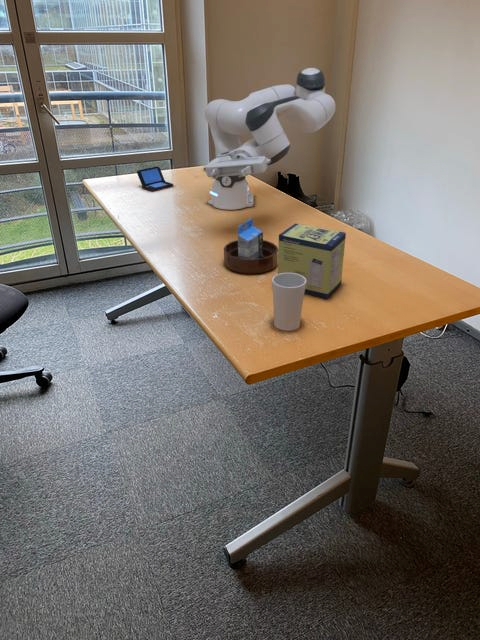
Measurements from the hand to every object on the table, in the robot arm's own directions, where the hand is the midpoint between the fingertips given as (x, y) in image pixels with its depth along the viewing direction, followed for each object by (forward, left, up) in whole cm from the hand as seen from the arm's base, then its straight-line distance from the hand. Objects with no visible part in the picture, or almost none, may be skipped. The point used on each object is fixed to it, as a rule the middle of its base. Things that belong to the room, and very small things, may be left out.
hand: (227, 175), depth 156 cm
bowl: (+13, +10, -23) cm, 29 cm away
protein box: (+24, +29, -23) cm, 45 cm away
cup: (+46, +26, -23) cm, 58 cm away
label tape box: (+13, +10, -23) cm, 28 cm away
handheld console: (-60, -49, -23) cm, 80 cm away
